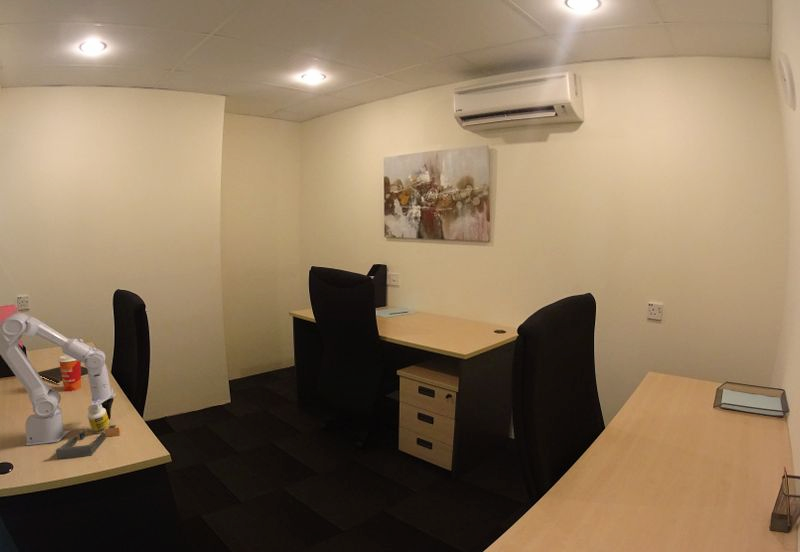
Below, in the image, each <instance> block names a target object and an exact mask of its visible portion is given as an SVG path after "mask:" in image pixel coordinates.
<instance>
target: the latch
mask: <svg viewBox="0 0 800 552" xmlns="http://www.w3.org/2000/svg"><path fill="white" fill-rule="evenodd" d="M121 428H122V427H121V426H120V425H117V426H116V424H112V425H111V424H110V426H109V427H106V428H105V431H104V433H105V437H116V436H120V435H122V432H121Z"/></svg>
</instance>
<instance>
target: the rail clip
mask: <svg viewBox="0 0 800 552" xmlns="http://www.w3.org/2000/svg"><path fill="white" fill-rule="evenodd" d="M85 438H86V434H85V430H81V431H80V432H79V440H80V441H81V440H84V439H85ZM105 440H106V437H105V432H102V433H99V436H98V437H96V439H95V440H94V441H93V442H92V444H86V445H76V443H77V442H78V439H77V435H72V436H71V437H70V439H69V440H67V441H66V443H64V444H63V445H62V446H61V447H58V448H57V449H56V450H55V453H56V460H63V459H64V460H65V459H72V458H73V459H74V458H81V457H90V456H92V455H93V454H94V453H95V452H96V451H97V450H98V448H99V447H100V446H101V445H102V444H103V443H104V441H105ZM75 445H76V446H75Z"/></svg>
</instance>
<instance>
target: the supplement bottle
mask: <svg viewBox="0 0 800 552" xmlns="http://www.w3.org/2000/svg"><path fill="white" fill-rule="evenodd" d="M87 410H88V413H87V419H88V422H89V425H90V428H91V431H92V432H93V433H94V434H101V433H105V428H106V427H109V426H110V425H111V424H110V423H111V422H110V420H109V419H108V416H107V412H106V409H105V408H103V407H102V404H99V409H97V410H91V404H90V405H89V406H88V408H87Z"/></svg>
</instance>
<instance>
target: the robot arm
mask: <svg viewBox="0 0 800 552" xmlns="http://www.w3.org/2000/svg"><path fill="white" fill-rule="evenodd" d="M24 333H25V334H24ZM23 334H24V336H25V337H30V336H38V337H40V338H42V339H44V340H46V341H48V342H50V343H52V344H54V345H56V346H58V347H61V351H62V353H63V354H64V355H68V356H70V357H72V358H74V359H76V360H77V361H79V362H81V363H83V365H84V366H83V367H85V368H87V369H88V377H87V378H88V382H89V387H90V392H91V404H90V405H91V410H97V409H99V404H102V407H103V408H105V409H106V412H107V416H108V419H109V421H110V420H111V415H112V413H111V412H112V405H113V402H114V400H115V399H114V397H116V392H114V389H113V387H111V385H110V384H111V383H110V378H109V374H108V372H109V371H108V368H107V365H106V353H104V351H102V349H98V348H96V347H95V346H94V347H92V346H90V345H88V344H86V343H85V342H84V340H83V339H82V338H79V339H78V338H74V337H73V338H68V337H66V336H65V335H63V334H61V333H60V332H58V331H57V330H55V329H53V328H52V327H50V326H49V325H47V324H45V323H44V322H42V321H41V320H39V319H38V318H37V317H34V316H30V315H29V314H27V313H25V312H21V311H20V312H19V311H18V312H14V313H12V314H10V315H9V316H8V317H7V318H5V319H4V320H2V321H1V322H0V356H1V358H2V359H3V360H4V362H5V363H6V364H7V366H8V367H9V368H10V370H11V371H12V373H13V374H14V376H15V377H16V378H17V380H18V381H19V382H20V384H21V385H22V386H23V387H22V388H24V390H25V391H26V392H27V393H28V398H29V402H30V403H31V405H32V412H33V413H34V414H30V415H29V416H28V417H27V418H26V420H25V438H26V444H25V446H33V445H34V446H35V445H43V444H51V443H52V444H53V443H58V442H61V440H63V438H64V437H65V436H67V435H68V434H69V433H70V430H64V423H63V422H64V421H63V411H62V408H61V407H60V406H59V403H61V399H62V397H61V394H60V393H59V392H58V391H56V390H54V389H53V388H52V387H51V386H50V385H49V384H47V383H46V382H45V380H44V379H42V378H41V377H40V375H39V374H38V372H39V371H37V368H35V367H34V365H33V363H32V362H31V361H30V359H29V358H28V357H27V355H26V354H25V352H24V351H23V349H22V348H21V347H20V345H19V343H20V341H21V338H22V336H23Z"/></svg>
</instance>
